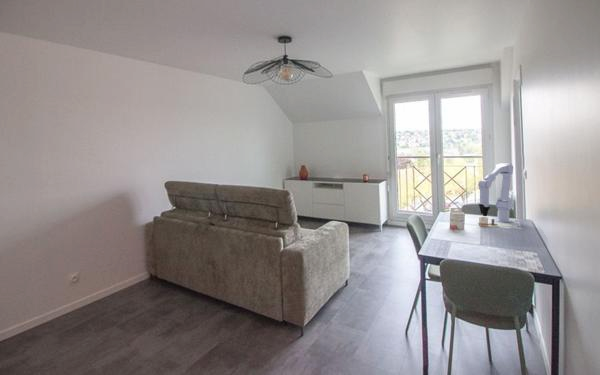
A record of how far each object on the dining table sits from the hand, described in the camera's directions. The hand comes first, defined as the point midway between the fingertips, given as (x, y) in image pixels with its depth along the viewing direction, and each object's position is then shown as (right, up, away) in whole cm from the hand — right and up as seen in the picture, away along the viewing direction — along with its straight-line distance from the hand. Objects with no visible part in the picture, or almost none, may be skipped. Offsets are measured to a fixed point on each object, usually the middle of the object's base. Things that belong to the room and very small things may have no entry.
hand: (483, 214), depth 237 cm
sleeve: (0, -7, +1) cm, 7 cm away
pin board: (+3, -8, 0) cm, 9 cm away
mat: (+15, -7, 0) cm, 16 cm away
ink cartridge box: (-22, -10, -4) cm, 24 cm away
